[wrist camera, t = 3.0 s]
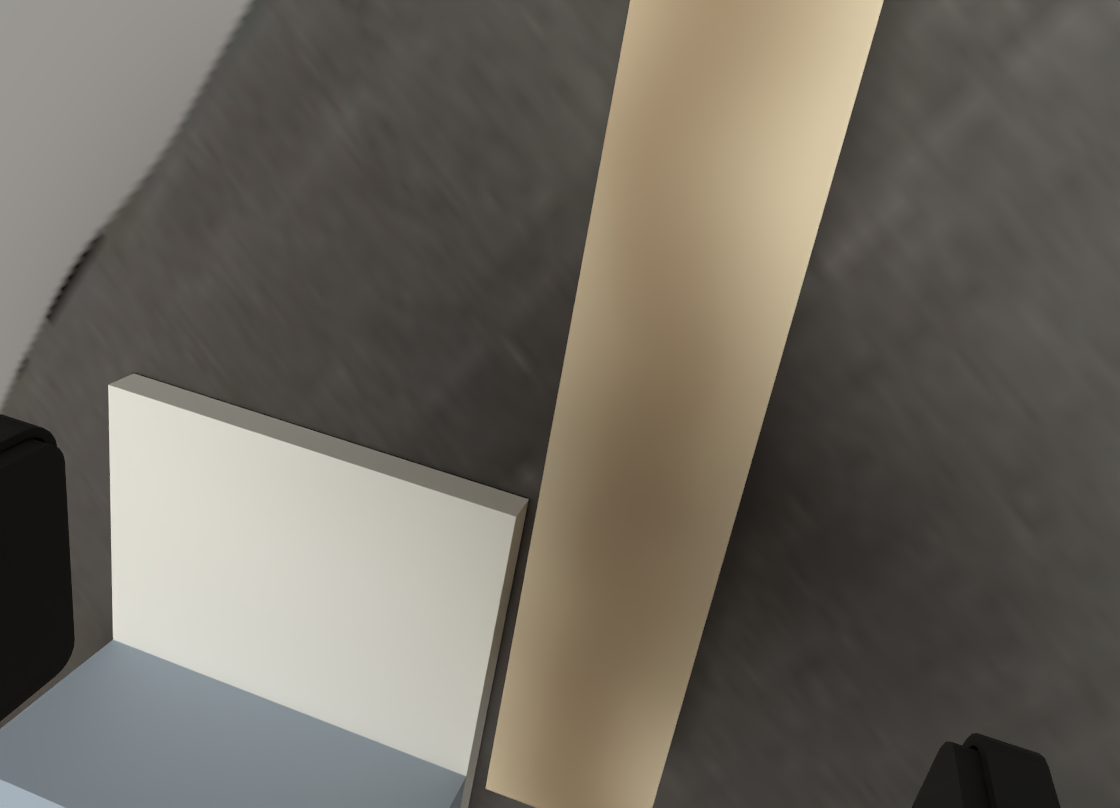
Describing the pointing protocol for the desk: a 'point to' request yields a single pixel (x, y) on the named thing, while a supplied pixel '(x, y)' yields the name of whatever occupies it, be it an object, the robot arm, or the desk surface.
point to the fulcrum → (275, 624)
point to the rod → (668, 376)
